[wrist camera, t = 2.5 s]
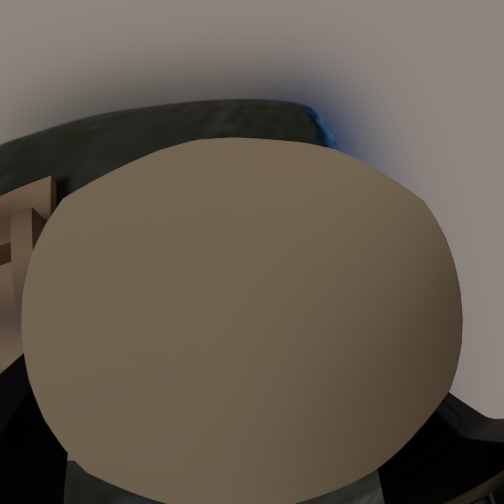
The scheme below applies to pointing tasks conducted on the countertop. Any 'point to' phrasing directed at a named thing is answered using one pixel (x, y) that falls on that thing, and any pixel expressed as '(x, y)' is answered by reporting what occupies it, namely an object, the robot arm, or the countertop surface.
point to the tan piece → (19, 257)
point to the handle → (240, 322)
